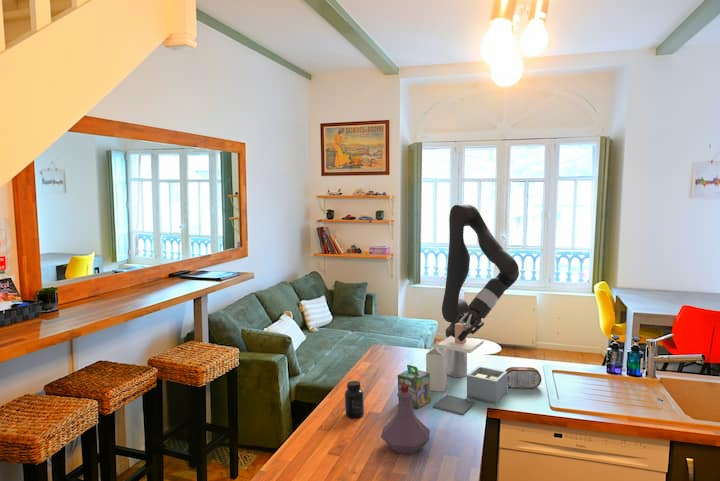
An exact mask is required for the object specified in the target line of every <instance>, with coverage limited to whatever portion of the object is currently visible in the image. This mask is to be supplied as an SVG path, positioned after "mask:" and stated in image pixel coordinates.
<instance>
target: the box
mask: <svg viewBox="0 0 720 481" xmlns="http://www.w3.org/2000/svg"><path fill="white" fill-rule="evenodd" d="M507 395H508V386H507V371H505V370H501V369H496V368H491V367H485V366H480V365H478V366H477V367H475V368H474V369H473V370H472V371H470V372H469V373H467V375H466V399H468V398H469V399H470V400H474V401H480V402H485V403H490V404H492V405H496V404H497V403H498V404H499V402H501V400H503V398H505V396H507ZM498 404H497V405H498Z"/></svg>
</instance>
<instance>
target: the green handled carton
mask: <svg viewBox="0 0 720 481" xmlns="http://www.w3.org/2000/svg"><path fill="white" fill-rule="evenodd" d="M406 368H407V370H404V371H402V372H401V373H398V374H397V393H398V392H400V391H401V385H403V384H407V385H409V387H408V391H410V392H411V393H413V394H412V397H411V405H412V408H413V409H414V410H418V409H420V408H422V407H423V406H426V404H428V403H429V402H431V390H430V373H428V372H426V371H425V370H419V369H418V367H417V366H414V365H411V364H410V365H409V364H407V365H406ZM397 398H398V397H397ZM398 400H399V398H398Z"/></svg>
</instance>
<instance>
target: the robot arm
mask: <svg viewBox="0 0 720 481" xmlns="http://www.w3.org/2000/svg"><path fill="white" fill-rule="evenodd" d="M448 221H449V222H448V223H449V224H448V226H449V228H448V229H449V239H448V240H449V241H448V256H447V266H446V279H445V288H444V295H443V299H442V305H441V315H442V317H443V319H444V321H445V322H447V323H450V324H449V326H448V327H447V328H446V329H445V339H446V338H448V337H450V336H452V337H454V338H455V324H456V323H458V322H459V323H466V327H465V329H464V330H465V331H464V330H463V331H462V332H461V334H460V335H459V336H458V339H459V340H460V341H463V340H464V339H465V337H466V338H468V335H475V333H476V332H477V331H478V330H480V329H481V328H482V327H483V326H484V325H485V323H484V322H483V320H482V319H485V318H486V317H487V316H488V315H489V314H490V312H491V311H492V310H493V308H494V307H495V306H496V304H497V302H498V301H499V300H500V299H501V297H502V295H504V292H506V291H507V290H508V289H509V288H510V287H512V286H513V285H514V284H515V282H517V279H518V278H519V275H520V271H519V265H518V263H517V261H516V260H515V258H513V256H511V255H510V254H509V253H508V252H507V251H506V250H505V249H504V248H503V247H502V245H501V244H500V243H499V241H498V240H497V239H496V238H495V237H494V235H493V234H492V232H491V231H490V229H489V227H488V226H487V224H486V222H485V221H484V219H483V217H482V214H481V213H480V211H479V210H478V208H477V207H475V205H473V204H469V203H467V204H466V203H465V204H462V203H461V204H455V205H453V206H451V208H450V210H449V218H448ZM465 227H469V228H471V229H472V230H473V232H475V234H476V235H477V241H478V245H479V248H480V250H481V251H482V253H483V254H484V255H485V256H486V257H487V259H488V260H489V262H491V263H492V264H494V265H495V266H496V268H497V269H498V270H499V272H498V274H497V275H496V276H495V278H494V277H492V278H490V279H489V281H488V282H487V283H486V284H485V285H484V286H483V288H482V289H481V290H480V291H479V292H478V293H477V294H476V295H475V297H474V298H473V300H471V302H470V303H469V304H468V303H467V301H466V300H465V299H462V298H460V292H461V290H462V287H463V285H464V284H465V282H466V280H467V277H468V275H469V272H470V264H471V263H470V262H471V260H470V259H471V257H470V252H469V250H468V248H467V246H466V243H465V240H464V238H465V237H464V231H465V230H464V229H465ZM445 350H446V351H447V376H449V377H452V378H461V377H465V376H466V377H467V374H468V353H467V352H461V351H455V350H450V349H445Z"/></svg>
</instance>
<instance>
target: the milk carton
mask: <svg viewBox="0 0 720 481" xmlns="http://www.w3.org/2000/svg"><path fill="white" fill-rule="evenodd" d="M438 343H440V342H439V340H437V341H436V342H435V343H434V345H433V346H432V347H431V348H430V349H429V350H428V352H426V354H425V372H428V373H430V391H432V392H433V391H434V392H442V393H444V392H445V390H446V389H447V387H448V375H447V351H446V349H444V348H439V347H437V344H438Z"/></svg>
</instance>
